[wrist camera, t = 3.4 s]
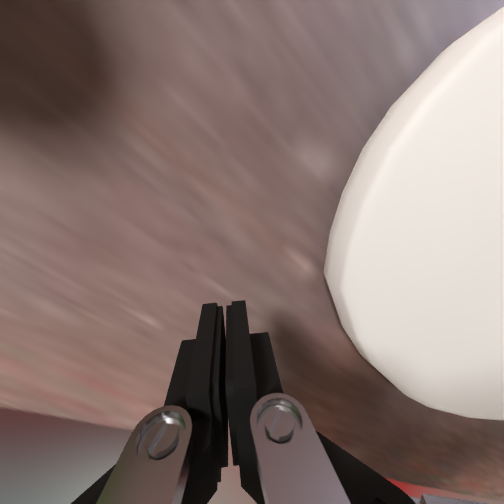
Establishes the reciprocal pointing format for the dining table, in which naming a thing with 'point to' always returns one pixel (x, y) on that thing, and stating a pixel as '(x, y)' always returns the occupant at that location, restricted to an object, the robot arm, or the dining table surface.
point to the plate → (431, 234)
